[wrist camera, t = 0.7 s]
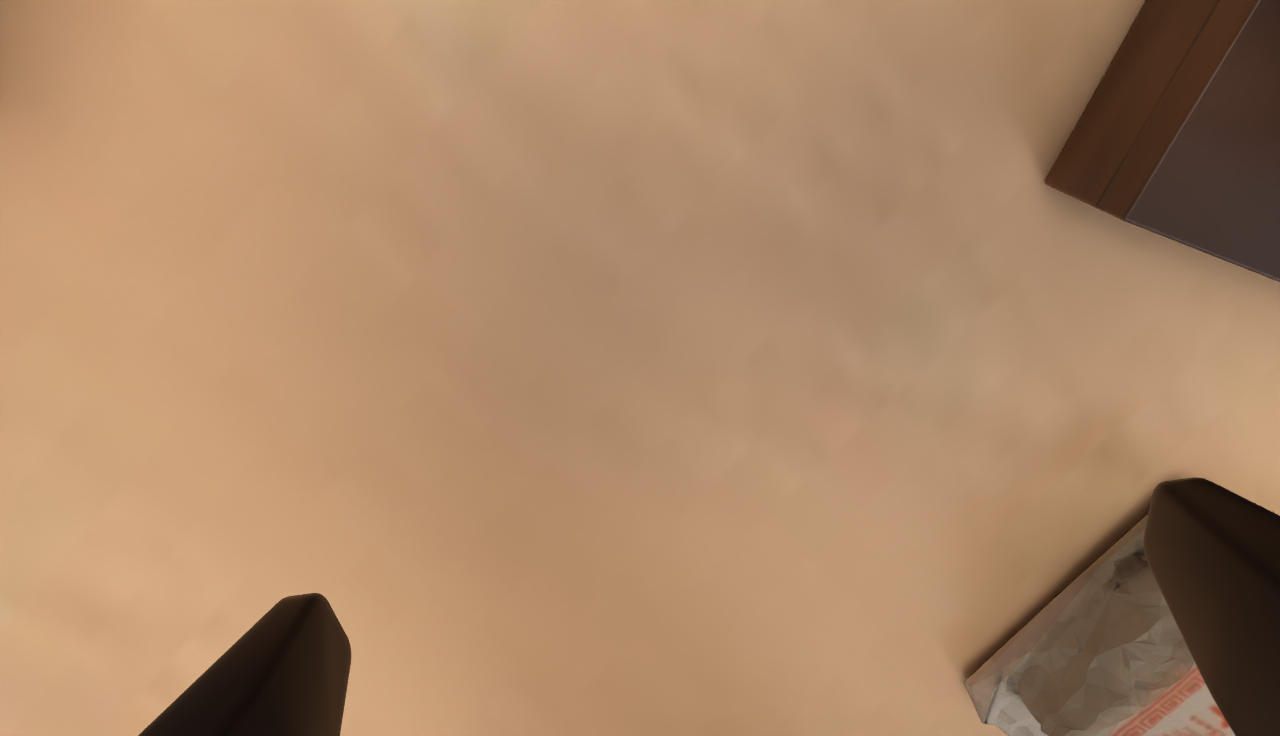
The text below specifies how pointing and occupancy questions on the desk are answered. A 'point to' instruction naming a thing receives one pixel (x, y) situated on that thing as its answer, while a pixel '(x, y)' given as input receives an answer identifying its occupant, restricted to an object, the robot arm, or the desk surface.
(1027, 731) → the packaged product
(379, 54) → the desk surface
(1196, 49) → the shelf
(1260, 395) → the desk surface
